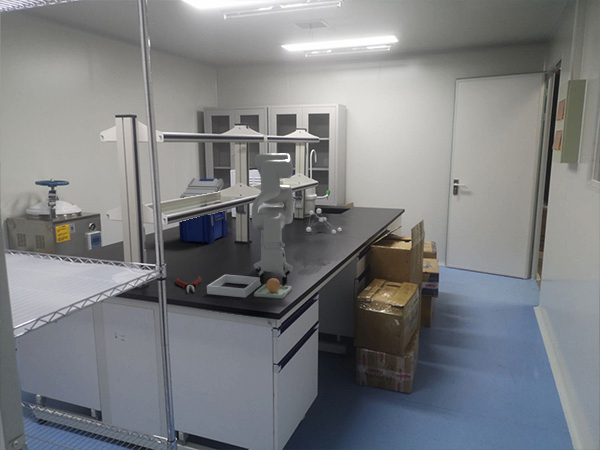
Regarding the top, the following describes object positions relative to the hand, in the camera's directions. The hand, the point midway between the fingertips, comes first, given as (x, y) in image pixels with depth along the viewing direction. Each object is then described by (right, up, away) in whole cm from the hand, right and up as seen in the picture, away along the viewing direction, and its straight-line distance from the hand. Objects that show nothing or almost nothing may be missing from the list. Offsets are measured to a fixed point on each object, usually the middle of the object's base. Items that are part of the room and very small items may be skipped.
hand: (273, 284), depth 192 cm
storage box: (-53, +16, +109) cm, 123 cm away
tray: (0, -4, +1) cm, 4 cm away
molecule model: (+28, +20, +132) cm, 136 cm away
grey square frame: (-17, -3, +6) cm, 18 cm away
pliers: (-40, -3, +10) cm, 41 cm away
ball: (0, 0, 0) cm, 0 cm away
